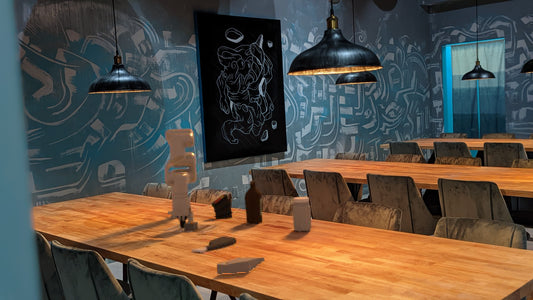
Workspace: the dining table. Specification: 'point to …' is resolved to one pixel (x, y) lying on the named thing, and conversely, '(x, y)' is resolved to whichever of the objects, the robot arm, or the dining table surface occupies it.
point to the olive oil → (253, 204)
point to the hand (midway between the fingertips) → (183, 227)
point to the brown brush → (217, 244)
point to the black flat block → (222, 207)
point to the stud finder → (190, 226)
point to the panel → (200, 230)
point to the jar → (301, 214)
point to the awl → (191, 217)
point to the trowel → (238, 265)
